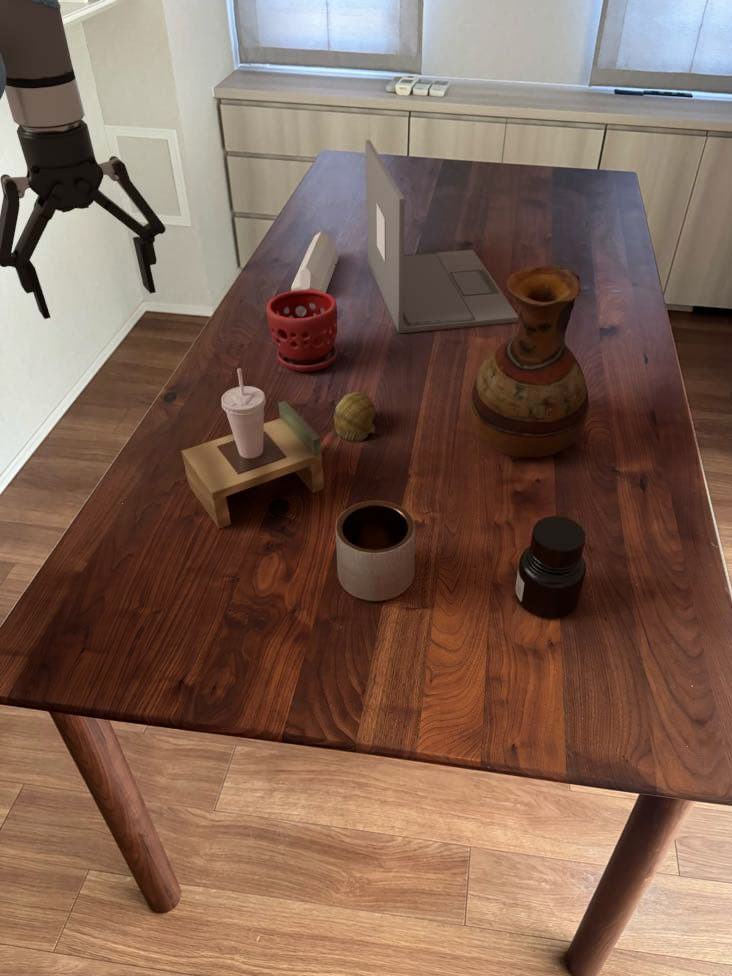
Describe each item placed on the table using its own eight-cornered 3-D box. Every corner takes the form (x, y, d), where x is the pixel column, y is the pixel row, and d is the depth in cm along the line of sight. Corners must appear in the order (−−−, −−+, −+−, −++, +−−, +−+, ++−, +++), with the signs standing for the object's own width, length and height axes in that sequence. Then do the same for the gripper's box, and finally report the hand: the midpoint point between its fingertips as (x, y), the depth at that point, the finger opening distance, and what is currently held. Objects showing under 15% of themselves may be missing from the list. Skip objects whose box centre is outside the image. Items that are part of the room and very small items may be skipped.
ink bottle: (538, 563, 115) (549, 500, 107) (591, 592, 111) (608, 528, 103) (500, 601, 109) (509, 537, 101) (555, 632, 105) (569, 569, 97)
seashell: (369, 455, 140) (396, 420, 137) (345, 448, 134) (373, 411, 131) (338, 422, 144) (364, 387, 142) (314, 413, 138) (340, 377, 136)
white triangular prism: (330, 287, 170) (346, 241, 188) (300, 269, 168) (320, 225, 186) (315, 313, 175) (332, 267, 192) (285, 297, 173) (306, 251, 190)
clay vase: (450, 449, 135) (461, 281, 114) (492, 391, 148) (509, 232, 128) (561, 481, 129) (594, 310, 108) (594, 418, 142) (629, 255, 122)
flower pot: (346, 346, 160) (343, 290, 151) (330, 380, 150) (326, 322, 142) (283, 340, 161) (277, 284, 153) (264, 373, 152) (256, 316, 144)
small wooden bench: (218, 528, 119) (208, 476, 113) (189, 486, 127) (177, 434, 120) (324, 488, 127) (320, 437, 120) (290, 450, 134) (285, 400, 127)
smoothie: (271, 437, 125) (261, 358, 115) (273, 461, 120) (262, 381, 110) (229, 440, 124) (216, 361, 114) (230, 465, 119) (216, 385, 110)
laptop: (518, 322, 168) (534, 190, 149) (397, 334, 163) (398, 199, 145) (472, 255, 193) (481, 134, 174) (367, 263, 188) (364, 140, 170)
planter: (341, 608, 108) (338, 557, 102) (334, 553, 116) (331, 503, 109) (420, 599, 109) (422, 549, 103) (407, 545, 117) (408, 496, 111)
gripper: (148, 99, 95) (179, 269, 110) (-77, 130, 85) (-10, 313, 100) (170, 114, 91) (200, 289, 105) (-65, 150, 81) (4, 338, 95)
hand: (98, 301), depth 103 cm, fingers open, 13 cm apart
